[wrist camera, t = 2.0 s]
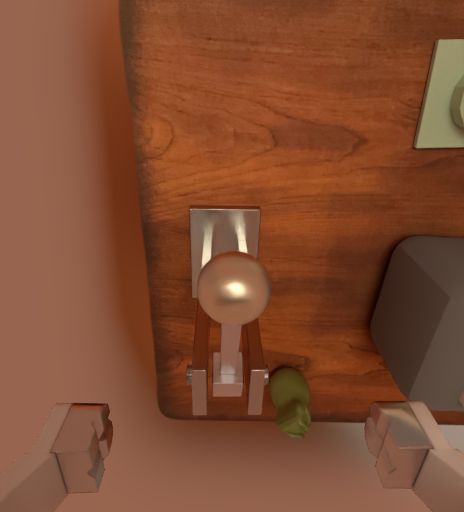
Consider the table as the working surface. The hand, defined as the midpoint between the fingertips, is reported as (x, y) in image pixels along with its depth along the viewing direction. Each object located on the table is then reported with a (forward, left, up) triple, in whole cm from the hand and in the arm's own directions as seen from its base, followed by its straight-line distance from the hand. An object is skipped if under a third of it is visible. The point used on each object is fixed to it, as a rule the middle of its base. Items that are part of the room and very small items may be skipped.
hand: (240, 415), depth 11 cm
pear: (+26, -19, -32) cm, 46 cm away
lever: (+3, -4, -11) cm, 12 cm away
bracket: (+7, -8, -32) cm, 34 cm away
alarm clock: (+29, +3, -32) cm, 44 cm away
